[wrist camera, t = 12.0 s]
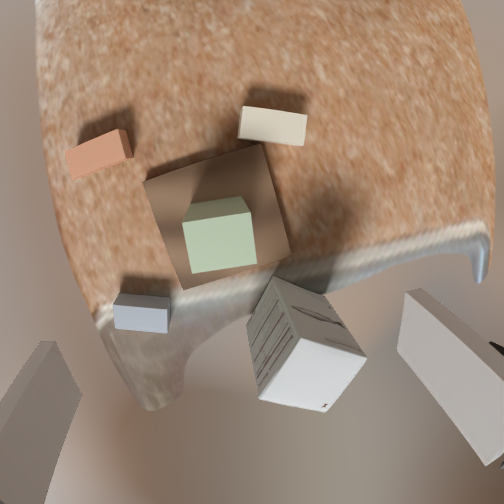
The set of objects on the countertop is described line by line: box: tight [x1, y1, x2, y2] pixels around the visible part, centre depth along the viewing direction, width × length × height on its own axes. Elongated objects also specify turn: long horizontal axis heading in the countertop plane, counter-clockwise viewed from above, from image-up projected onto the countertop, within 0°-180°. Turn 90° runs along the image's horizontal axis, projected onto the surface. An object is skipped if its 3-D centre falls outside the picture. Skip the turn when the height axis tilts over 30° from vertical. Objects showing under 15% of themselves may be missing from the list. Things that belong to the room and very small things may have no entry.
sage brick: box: [182, 196, 257, 274], centre depth 27 cm, size 4×5×8 cm
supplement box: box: [246, 276, 367, 412], centre depth 30 cm, size 7×7×13 cm
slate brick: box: [113, 293, 170, 333], centre depth 33 cm, size 6×3×3 cm, turn 84°
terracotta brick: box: [65, 129, 133, 180], centre depth 27 cm, size 6×3×3 cm, turn 104°
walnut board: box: [143, 143, 292, 290], centre depth 31 cm, size 12×12×1 cm
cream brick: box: [237, 106, 307, 146], centre depth 28 cm, size 6×3×3 cm, turn 84°
